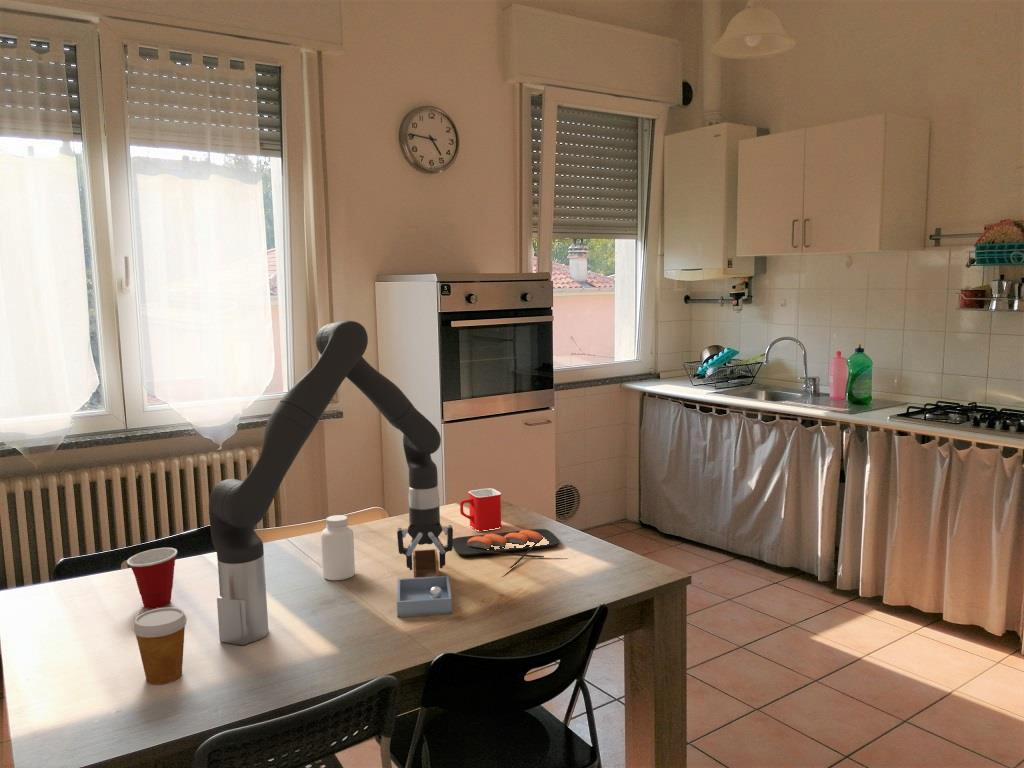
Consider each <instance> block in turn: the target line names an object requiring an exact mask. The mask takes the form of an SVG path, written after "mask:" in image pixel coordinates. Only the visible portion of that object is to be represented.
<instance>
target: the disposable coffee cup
mask: <svg viewBox="0 0 1024 768" xmlns="http://www.w3.org/2000/svg"><path fill="white" fill-rule="evenodd" d="M133 621H134V622H133V625H132V627H131V629H132V631H133V633H134V634H135V638H136V640H137V645H138V650H139V655H140V658H141V662H142V666H143V667H142V668H143V671H144V676H145V680H146V682H147V684H151V685H164V684H168V683H171V682H174V681H176V680H178V679H179V678H181V677H182V675H183V662H184V661H183V660H184V648H185V647H184V645H185V644H184V643H185V627H186V624H187V621H188V617H187V616H186V614H185V611H184V610H183V609H181V608H178V607H172V606H171V607H167V606H166V607H160V608H154V609H150V610H147V611H144V612H143V613H141V614H139V615H138V616H136V617H135V619H134V620H133Z"/></svg>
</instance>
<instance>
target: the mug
mask: <svg viewBox="0 0 1024 768" xmlns="http://www.w3.org/2000/svg"><path fill="white" fill-rule="evenodd" d="M467 493H468V497H469V498H468V499H463V500H461V501H460V502H459V511H460V514H461V516H462V517H465V518H466V519H468V520H469V527H470V526H472V527H473V528H474V529H476V530H479V531H483V530H489V529H495V528H499V527H501V528H502V492H500V491H498V490H496V489H495V488H490V487H489V488H479V489H473V490H469V491H468V492H467ZM465 503H468V507H469V515H468V514H466V513H465V512H464V504H465ZM474 529H473V530H474Z"/></svg>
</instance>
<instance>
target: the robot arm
mask: <svg viewBox="0 0 1024 768" xmlns="http://www.w3.org/2000/svg"><path fill="white" fill-rule="evenodd" d="M368 343H369V337H368V333H367V330H366V328H365V327H364V325H362V324H361V323H360V322H358V321H354V320H342V321H341V320H340V321H336V322H332V323H328V324H325V325H324V326H322V327H321V328H320V329H319V330H318V332H317V334H316V337H315V346H316V349H317V351H318V353H319V355H320V357H319V359H318V360H317V361H316V363H314V364H315V365H314V366H313V367H312V368H311V369H310V370H309V371H308V372H307V373H306V374H305V375H304V376H302V377H301V378H300V379H299V380H298V381H297V382H295V384H294V385H292V387H291V388H290V389H289V390H288V391H287V392H286V393H285V394H284V395H283V396H282V397H281V400H280V401H279V402H278V403H277V405H276V407H275V408H274V409H273V411H272V413H271V415H270V416H269V418H268V419H267V422H266V425H265V429H264V433H263V440H262V445H261V450H260V454H259V456H258V459H257V461H256V462H255V464H254V465H253V467H252V468H251V470H250V472H248V475H247V476H246V477H245V478H244V480H240V479H237V478H236V479H235V478H227V479H224V480H221V481H220V482H218V483H217V484H216V485H215V486H214V487H213V488H212V490H211V493H210V495H209V498H208V499H209V500H208V518H209V526H210V534H211V535H210V536H211V542H212V545H213V548H214V549H215V552H216V557H217V558H216V559H217V569H218V570H217V571H218V587H219V596H218V597H217V598H216V604H217V606H216V607H217V620H218V622H217V623H218V635H219V642H221V643H222V642H223V643H227V644H233V645H240V646H245V645H246V644H249V643H252V642H256V641H259V640H262V639H263V638H265V637H266V636H268V634H269V617H268V616H269V615H268V603H267V601H268V600H267V584H266V569H265V566H266V565H265V553H264V551H265V550H264V542H263V540H262V539H261V537H259V535H258V534H257V532H256V531H255V529H254V527H255V526H256V525H258V524H259V523H260V522H261V521H262V520H263V518H264V517H265V516H266V514H267V512H268V511H269V509H270V507H271V505H272V503H273V501H274V498H275V496H276V495H277V493H278V490H279V489H280V486H281V485H282V482H283V480H284V478H285V477H286V474H287V473H288V471H289V470H290V468H291V466H292V464H293V463H294V461H295V460H296V458H297V457H298V454H299V453H300V451H301V449H302V448H303V446H304V445H305V443H306V442H307V440H308V438H309V437H310V435H312V433H313V431H314V429H315V427H316V426H317V424H318V423H319V421H320V419H321V418H322V416H323V414H324V412H325V411H326V409H327V408H328V406H329V404H330V403H331V401H332V399H333V398H334V396H335V395H336V392H337V391H338V389H339V388H340V386H341V385H342V383H343V381H344V380H345V379H346V378H347V379H348V380H349V381H350V382H351V383H352V384H353V385H355V387H356V388H358V390H360V392H362V394H364V396H366V398H367V399H368V400H369V401H370V402H371V403H372V404H373V406H374V407H376V409H377V410H378V411H379V412H380V413H381V415H382V416H383V417H384V418H385V419H386V420H387V421H388V423H390V425H392V427H394V428H395V429H397V430H399V431H400V432H401V433H402V434H403V437H402V444H403V450H404V456H405V461H406V463H407V468H408V486H409V487H408V515H409V516H408V518H409V525H408V527H407V528H402V527H398V528H397V529H396V530H397V531H396V534H397V535H396V537H397V546H398V549H397V550H398V554H400V555H402V554H403V555H404V556H405V557H406V568H407V569H409V571H413V551H415V550H416V547H417V545H419V546H423V545H425V544H426V545H432V544H434V545H435V547H436V548H437V551H439V552H438V553H439V556H438V560H439V569H443V568H444V567H445V566H446V553H447V552H452V551H453V549H454V548H453V538H454V535H453V534H454V532H453V531H454V529H453V525H451V524H449V525H447V526H444V525H443V526H442V524H441V518H440V517H441V516H440V515H441V511H440V508H441V507H440V499H441V498H440V491H439V483H438V482H439V479H438V468H437V464H436V463H435V462H434V461H433V459H432V456H431V455H432V454H434V453H435V452H437V451H438V450H439V448H440V446H441V443H442V439H441V434H440V431H439V430H438V429H437V427H436V426H435V425H434V424H433V423H432V422H431V421H430V420H429V419H427V418H426V417H425V415H424V414H422V413H421V412H420V411H419V410H418V409H417V408H416V407H415V406H414V404H413V403H412V402H411V400H409V398H408V396H406V395H405V394H404V392H403V391H402V390H401V389H400V388H399V387H398V386H397V384H395V383H394V382H392V381H391V380H390V379H389V378H387V377H386V376H385V375H384V374H382V373H380V371H378V370H377V369H375V368H374V367H373V366H372V365H371V364H370V363H369V362H368V361H367V360H366V359H365V358H364V357H363V355H364V354H365V353H366V350H367V347H368ZM442 533H443V534H444V535H445V536H447V537H446V538H447V539H446V540H447V541H446V544H445V545H444V544H443V543H442V541H441V539H440V537H439V536H440V535H441V534H442ZM407 534H408V535H409V536H410V537H411V540H410V543H409V544H408V546H407V547H404V539H405V538H406V536H407Z"/></svg>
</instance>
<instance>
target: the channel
mask: <svg viewBox="0 0 1024 768" xmlns="http://www.w3.org/2000/svg"><path fill="white" fill-rule="evenodd" d="M439 569H440V561H439V556H438V548H437V549H436V548H435V549H432V548H431V549H420V550H419V549H418V550H416V549H414V550H413V552H412V570H413V578H422V577H437V576H440V570H439Z"/></svg>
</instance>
